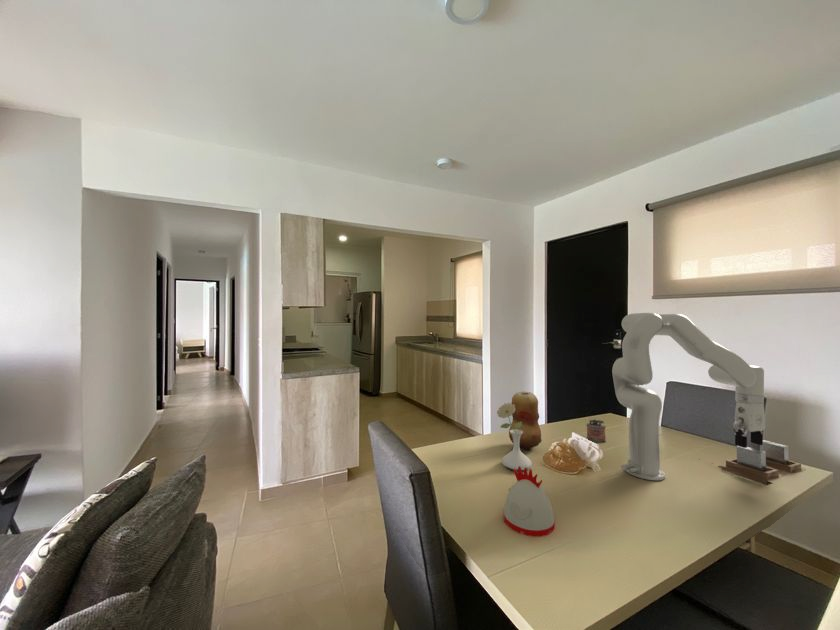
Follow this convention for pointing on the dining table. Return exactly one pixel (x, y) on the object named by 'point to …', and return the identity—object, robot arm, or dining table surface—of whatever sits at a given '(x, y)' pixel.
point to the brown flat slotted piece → (759, 476)
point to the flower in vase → (515, 456)
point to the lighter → (596, 430)
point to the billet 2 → (776, 452)
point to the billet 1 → (751, 458)
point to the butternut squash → (526, 419)
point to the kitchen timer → (528, 506)
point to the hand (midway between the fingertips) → (748, 445)
